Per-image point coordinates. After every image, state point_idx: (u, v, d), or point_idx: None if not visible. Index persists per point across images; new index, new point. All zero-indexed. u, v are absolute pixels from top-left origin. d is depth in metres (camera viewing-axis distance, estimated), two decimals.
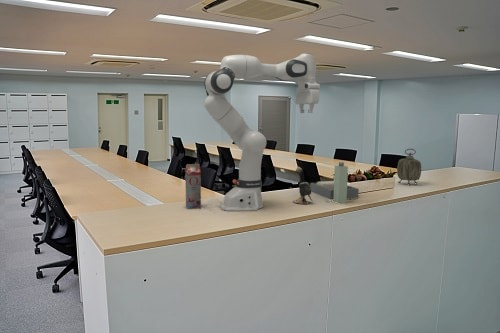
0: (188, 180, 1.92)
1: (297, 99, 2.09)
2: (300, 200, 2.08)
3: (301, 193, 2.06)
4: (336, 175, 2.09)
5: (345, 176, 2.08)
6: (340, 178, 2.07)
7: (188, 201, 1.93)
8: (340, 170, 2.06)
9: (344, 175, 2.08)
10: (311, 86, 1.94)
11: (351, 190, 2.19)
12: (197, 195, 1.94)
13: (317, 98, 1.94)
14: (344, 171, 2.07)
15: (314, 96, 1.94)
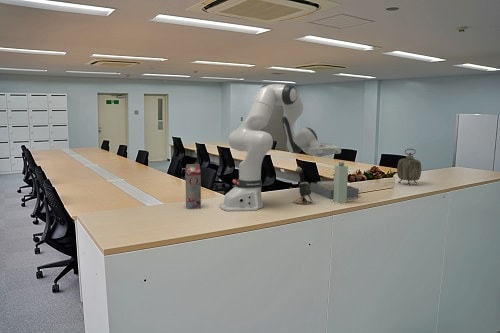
0: (188, 180, 1.92)
1: None
2: (300, 200, 2.08)
3: (301, 193, 2.06)
4: (336, 175, 2.09)
5: (345, 176, 2.08)
6: (340, 178, 2.07)
7: (188, 201, 1.93)
8: (340, 170, 2.06)
9: (344, 175, 2.08)
10: None
11: (351, 190, 2.19)
12: (197, 195, 1.94)
13: None
14: (344, 171, 2.07)
15: None
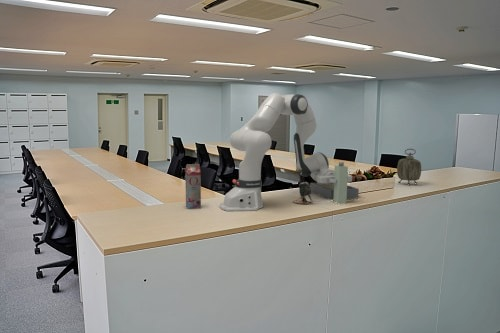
0: (188, 180, 1.92)
1: (323, 176, 2.13)
2: (300, 200, 2.08)
3: (301, 193, 2.06)
4: (336, 175, 2.09)
5: (345, 176, 2.08)
6: (340, 178, 2.07)
7: (188, 201, 1.93)
8: (340, 170, 2.06)
9: (344, 175, 2.08)
10: None
11: (351, 190, 2.19)
12: (197, 195, 1.94)
13: None
14: (344, 171, 2.07)
15: None
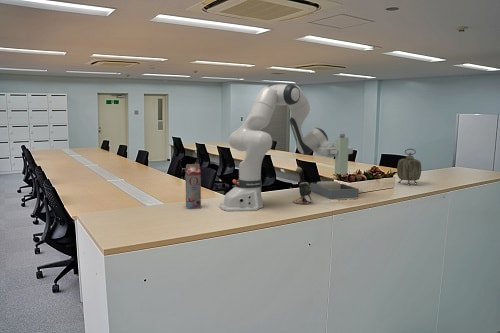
0: (188, 180, 1.92)
1: None
2: (300, 200, 2.08)
3: (301, 193, 2.06)
4: (337, 146, 2.15)
5: (346, 147, 2.13)
6: (341, 149, 2.13)
7: (188, 201, 1.93)
8: (341, 141, 2.12)
9: (345, 146, 2.13)
10: None
11: (351, 190, 2.19)
12: (197, 195, 1.94)
13: None
14: (345, 142, 2.13)
15: None
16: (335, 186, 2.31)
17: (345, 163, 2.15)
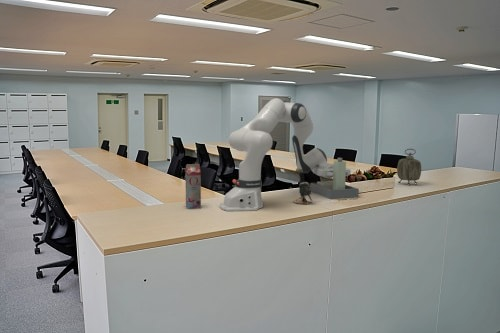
0: (188, 180, 1.92)
1: (323, 169, 2.25)
2: (300, 200, 2.08)
3: (301, 193, 2.06)
4: (335, 170, 2.21)
5: (344, 171, 2.20)
6: (339, 173, 2.19)
7: (188, 201, 1.93)
8: (338, 165, 2.18)
9: (342, 170, 2.20)
10: None
11: (351, 190, 2.19)
12: (197, 195, 1.94)
13: None
14: (343, 166, 2.19)
15: None
16: None
17: (342, 186, 2.21)
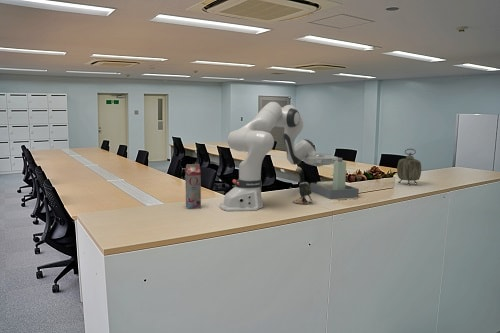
0: (188, 180, 1.92)
1: (312, 157, 2.37)
2: (300, 200, 2.08)
3: (301, 193, 2.06)
4: (335, 170, 2.21)
5: (344, 171, 2.20)
6: (339, 173, 2.19)
7: (188, 201, 1.93)
8: (338, 165, 2.18)
9: (343, 170, 2.20)
10: None
11: (351, 190, 2.19)
12: (197, 195, 1.94)
13: None
14: (343, 166, 2.19)
15: None
16: None
17: (342, 186, 2.21)
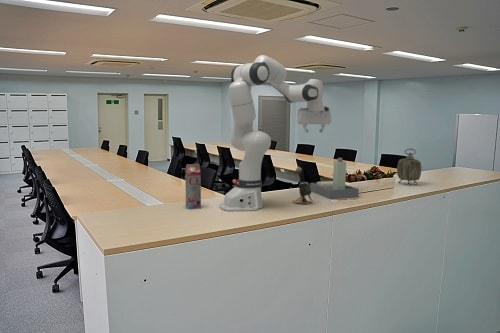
0: (188, 180, 1.91)
1: (304, 119, 2.20)
2: (300, 200, 2.08)
3: (301, 193, 2.06)
4: (335, 170, 2.21)
5: (344, 171, 2.20)
6: (339, 173, 2.19)
7: (188, 201, 1.93)
8: (338, 165, 2.18)
9: (343, 170, 2.20)
10: None
11: (351, 190, 2.19)
12: (197, 195, 1.94)
13: None
14: (343, 166, 2.19)
15: None
16: None
17: (342, 186, 2.21)
